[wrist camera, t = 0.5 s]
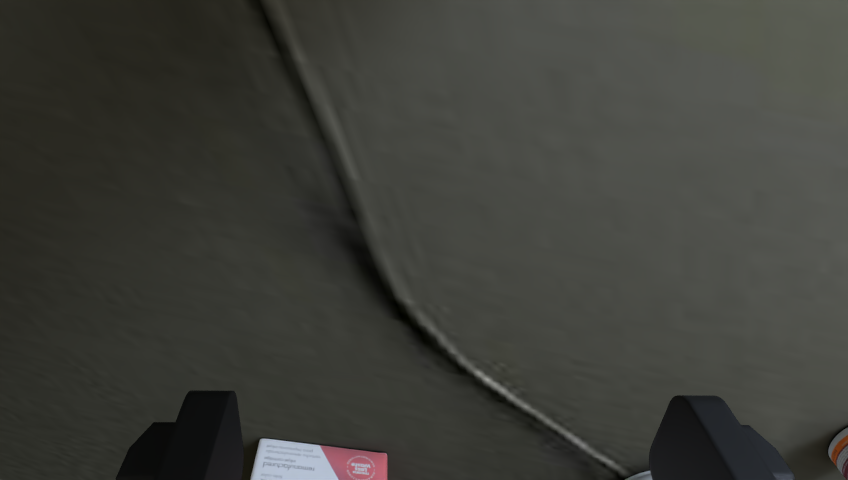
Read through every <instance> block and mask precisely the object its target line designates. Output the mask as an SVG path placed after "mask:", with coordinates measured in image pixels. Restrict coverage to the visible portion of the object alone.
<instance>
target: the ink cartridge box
mask: <svg viewBox="0 0 848 480" xmlns="http://www.w3.org/2000/svg"><path fill="white" fill-rule="evenodd" d="M250 480H387V454H386V453H377V452H369V451H362V450H353V449H345V448H337V447H330V446H321V445H314V444H306V443H297V442H290V441H282V440H274V439H264V438H262V439H260V441H259V444H258V449H257V453H256V457H255V461H254V466H253V470H252V474H251V479H250Z"/></svg>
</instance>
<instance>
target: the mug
mask: <svg viewBox="0 0 848 480" xmlns="http://www.w3.org/2000/svg"><path fill="white" fill-rule="evenodd" d="M625 480H653V479H652V476H651V472H650V471H646V472H642V473H639V474H636V475H634V476H631V477H629V478H627V479H625Z"/></svg>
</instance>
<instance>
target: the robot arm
mask: <svg viewBox="0 0 848 480" xmlns="http://www.w3.org/2000/svg"><path fill="white" fill-rule="evenodd" d="M243 458H244V451H243V441H242V433H241V426H240V418H239V411H238V404H237V397H236V393H235V392H234V391H189V392H188V393H187V395H186V397H185V399H184V402H183V404H182V407H181V409H180V412H179V415H178V417H177V420H176V422H154V423H153V424H152V425H151V426H150V427H149V428H148V429H147V430H146V431H145V432H144V433H143V434H142V435H141V436H140V437H139V438H138V440H137V441H136V442H135V443H134V444H133V445H132V446H131V447H130V448H129V450H128V452H127V455H126V457H125V459H124V461H123V463H122V466H121V468H120V470H119V472H118V475H117V477H116V480H241V478H242V471H243ZM649 465H650V472H651V476H652V479H653V480H795V478H794V477H795V475H794V474H793V473H792V471H791V470H790V468H789V467H788V465H787V464H786V463H785V461H784V460H783V458H782V457H781V455H780V454H779V453H778V451H777V450H776V448H774V447H773V446H772V445H771V444H770V443H769V442H768V441H766V440H765V439H764V438H763V437H762V436H761V435H760V434H758V433H757V432H756V431H755V430H754V429H753V428H751V427H750V426H749V425H740V423H739V422H738V420H737V419H736V417H735V416H734V414H733V413H732V411H731V410H730V408H729V407H728V405H727V404H726V403H725V401H724V400H722V399H721V398H720V397H718V396H675V397H673V398H672V400H671V401H670V403H669V405H668V408H667V410H666V413H665V415H664V417H663V420H662V422H661V424H660V427H659V429H658V432H657V434H656V436H655V439H654V441H653V443H652V446H651V449H650V454H649Z"/></svg>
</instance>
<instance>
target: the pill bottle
mask: <svg viewBox="0 0 848 480" xmlns="http://www.w3.org/2000/svg"><path fill="white" fill-rule="evenodd" d="M828 454H829V457H830V459H831V460H832V462H833V463H834V464H835V465H836V467H837V468H838V469H839V471H840V472H841V473H842V475H843V476H844V477H845V478H846V479H847V480H848V427H847V428H846V429H844V430H843V431H841V432H840V433H839V434H838V435H837V436H836V437H835V438H834V439H833V440H832V442H831V444H830V446H829V449H828Z"/></svg>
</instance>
